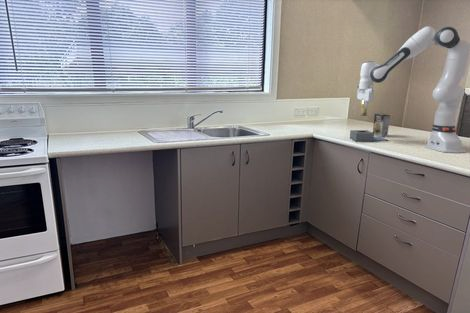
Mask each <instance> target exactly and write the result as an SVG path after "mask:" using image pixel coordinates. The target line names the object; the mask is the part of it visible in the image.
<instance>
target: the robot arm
mask: <svg viewBox="0 0 470 313" xmlns="http://www.w3.org/2000/svg"><path fill="white" fill-rule="evenodd" d="M433 44H434V45H437V46H438V47H440V48H446V50H447V55H446V59H445V64H444V66H443V71H442V74H441V75H440V76H441V77H440V78H439V81H438V82H437V85H436V87H435V88H434V89H433V90H432V99H433V100H434V101H436V102H438V103H439V104H438V106H437V109H435V110H436V111H435V112H434V119H433V124H432V127H431V133H430V134H429V135H428V136H429V137H428V141H427V144H426V145H425V147H424V148H426V149H431V150H434V151H438V152H442V153H449V154H451V153H452V154H457V153H458V154H461V153H462V154H463V153H466V150H465V149H464V148H462V145H463V144H462V143H463V141H462V140H461V139H460V137H459V136H458V134H457V133H456V132H457V128H456V118H457V113H458V110H459V106H460V104H461V101H462V98H463V97H464V95H465V89H464V87H463V86H462V85H460V83H461V80H462V79H463V77H464V76H465V74H466V71H467V70H466V69H467V66H468V63H469V59H470V42H469V41H467V40H466V39H464V40H463V39H461V38H460V36H459V33H458V30H457V29H456V28H455V27H453V26H445V27H442V28H440V29H438V30H436V29H435V28H434V27H432V26H424V27H422V28H421V29H420V30H418V31H417V32H415V33H414V34H413V35H412V36H411V37H409V38H408V39H407V40H406V41H405V43H404V44H403V45H402V46H400V48H399V49H398V50H397V51H396V52H395V53H394V54H393V55H392V56H391V57H390V58H388V59H387V60H386V61H385V62H383V63H382V64H379V63H376V62H375V61H374V60H373V61H372V60H371V61H370V60H369V61H366V62H363V63H362V64H361V67H360V73H359V76H360V79H359V84H357V85H356V89H357V91H356V98H357V100H360V104H361V103H362V98H363V100H364V101H365V105H364V107H365V108H367V109H368V107H369V103H370V102H373V101H374V98H375V91H374V84H375V83H378V84H379V83H383V82H386V81H387V80H388V79H390V76H391V71H393V69H395V68H397V67H398V65H400V64H401V63H403V62H404V61H406V60H410V59H412V58H414V57H417V55H420V54H421V53H422V52H423V51H424V50H425V49H427V48H428V47H430V46H431V45H433Z"/></svg>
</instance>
